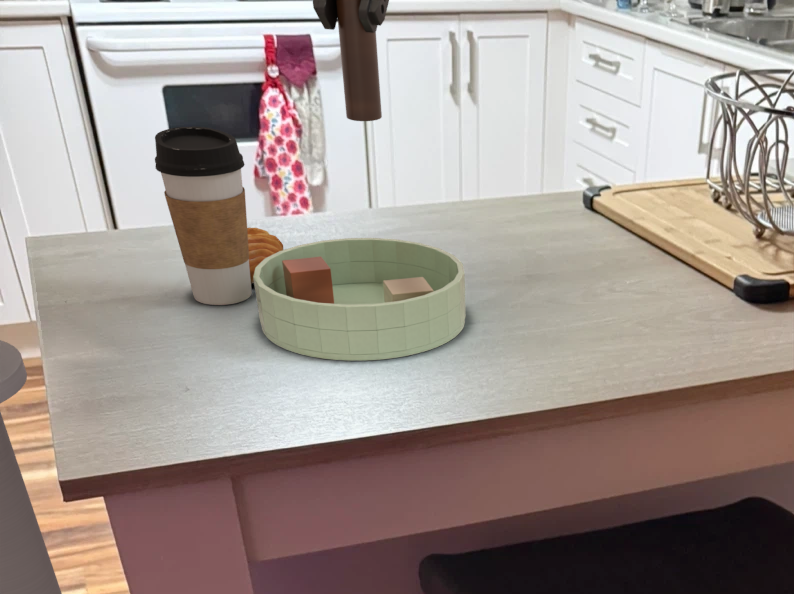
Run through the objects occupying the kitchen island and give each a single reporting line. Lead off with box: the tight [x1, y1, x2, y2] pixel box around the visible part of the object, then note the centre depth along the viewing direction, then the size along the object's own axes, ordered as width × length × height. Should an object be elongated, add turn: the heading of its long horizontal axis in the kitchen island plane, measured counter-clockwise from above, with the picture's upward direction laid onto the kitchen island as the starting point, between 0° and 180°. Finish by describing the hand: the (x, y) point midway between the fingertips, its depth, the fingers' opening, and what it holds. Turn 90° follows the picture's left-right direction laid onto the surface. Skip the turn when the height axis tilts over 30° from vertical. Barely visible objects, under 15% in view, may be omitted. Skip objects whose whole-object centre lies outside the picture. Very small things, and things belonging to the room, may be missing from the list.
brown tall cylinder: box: [336, 0, 383, 122], centre depth 85 cm, size 3×3×14 cm
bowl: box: [253, 237, 467, 362], centre depth 103 cm, size 20×20×5 cm
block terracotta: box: [282, 257, 334, 304], centre depth 105 cm, size 4×4×4 cm
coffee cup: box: [154, 126, 253, 306], centre depth 104 cm, size 8×8×15 cm
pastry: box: [247, 227, 284, 285], centre depth 113 cm, size 9×7×4 cm
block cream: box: [383, 277, 434, 303], centre depth 101 cm, size 4×4×4 cm
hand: (346, 22), depth 83 cm, fingers closed on brown tall cylinder, 3 cm apart
